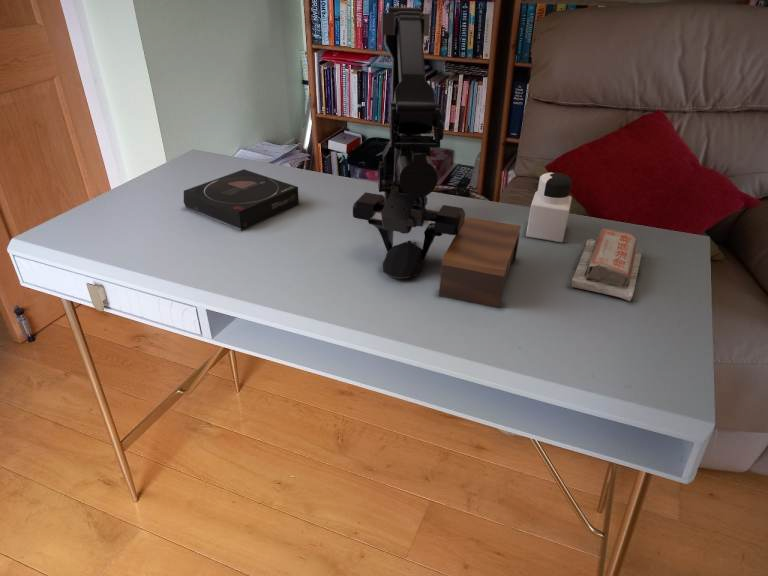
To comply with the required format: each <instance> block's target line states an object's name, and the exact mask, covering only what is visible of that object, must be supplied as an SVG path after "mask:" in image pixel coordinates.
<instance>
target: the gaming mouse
mask: <svg viewBox="0 0 768 576" xmlns="http://www.w3.org/2000/svg"><path fill="white" fill-rule="evenodd" d="M416 243H417V242H416V241H414V242H412V240H407V241H405V242H402V243H399V244H396V245H394V246H393V247H392V248H391V249H390V250H389V251H388V252H387V251H386V254H385V257H384V260H383V262H382V273H384V274H385V275H387V276H388V277H390V278H392V279H393V278H394V279H398V280H403V279H410V278H415V277H416V276H417V275H419V273H420V271H421V267H422V264H423V261H422V249H423V247H422V248H421V247H420V246H418V245H416Z"/></svg>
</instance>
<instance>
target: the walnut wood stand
mask: <svg viewBox="0 0 768 576" xmlns="http://www.w3.org/2000/svg"><path fill="white" fill-rule="evenodd" d="M521 230H522V226H521V225H518V224H512V223H506V222H500V221H494V220H488V219H481V218H476V217H470V216H465V221H464V224H463V226H462V228H461V229H460V231H459V233H458V235H454V237H453V239H452V241H450V244H449V245H448V248H447V249H446V251H445V253H444V255H443V256H442V260H441V269H440V281H439V292H438V296H439V297H444V298H450V299H453V300H459V301H462V302H468V303H473V304H479V305H483V306H488V307H491V308H492V307H493V308H498V309H499V308H500V307H501V305H502V299H503V293H504V292H503V291H504V285H505V281H506V278H507V275H508V272H509V269H510V266H511V264H512V263H513V264H515V262H516V260H517V253H518V248H519V241H520V236H521V235H520V234H521Z"/></svg>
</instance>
